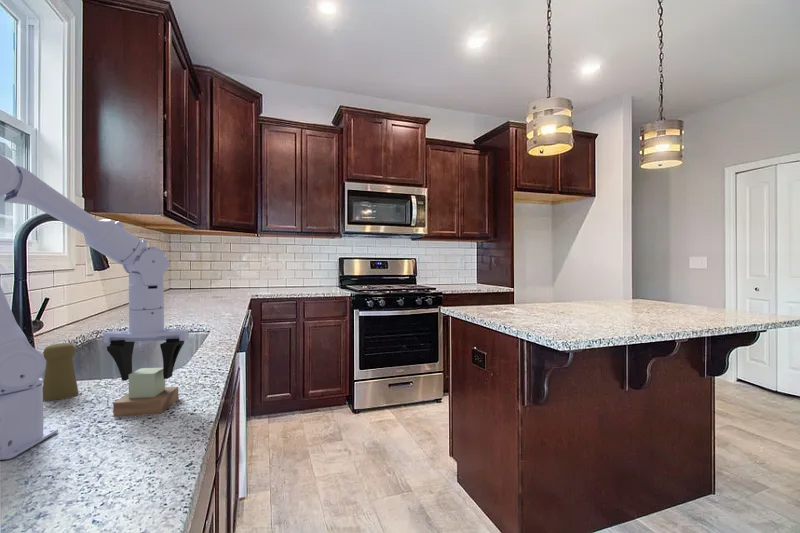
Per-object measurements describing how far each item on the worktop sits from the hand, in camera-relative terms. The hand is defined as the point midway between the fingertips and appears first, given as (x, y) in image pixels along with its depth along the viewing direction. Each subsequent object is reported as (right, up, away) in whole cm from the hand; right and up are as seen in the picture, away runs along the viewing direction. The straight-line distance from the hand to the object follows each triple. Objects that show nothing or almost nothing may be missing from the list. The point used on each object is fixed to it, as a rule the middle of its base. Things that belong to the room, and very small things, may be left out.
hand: (147, 378), depth 76 cm
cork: (-23, -6, +7) cm, 25 cm away
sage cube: (0, -3, 0) cm, 3 cm away
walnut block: (0, -6, 0) cm, 6 cm away
